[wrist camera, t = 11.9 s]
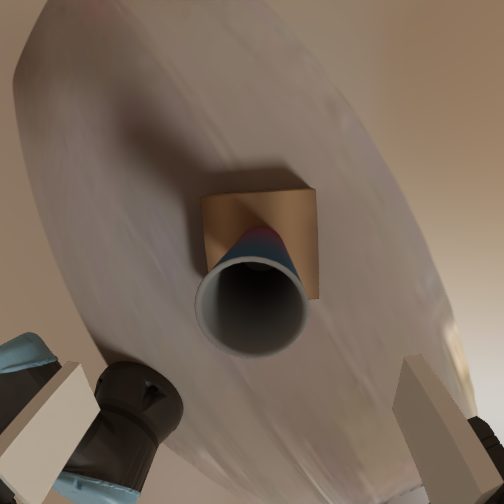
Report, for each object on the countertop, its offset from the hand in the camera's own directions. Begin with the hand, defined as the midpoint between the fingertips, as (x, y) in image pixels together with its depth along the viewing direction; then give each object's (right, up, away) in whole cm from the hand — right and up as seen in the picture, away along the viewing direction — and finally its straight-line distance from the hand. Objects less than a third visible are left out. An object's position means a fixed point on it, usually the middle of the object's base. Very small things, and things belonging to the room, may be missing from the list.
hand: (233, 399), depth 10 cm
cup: (+2, +6, +22) cm, 23 cm away
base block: (+2, +7, +26) cm, 27 cm away
